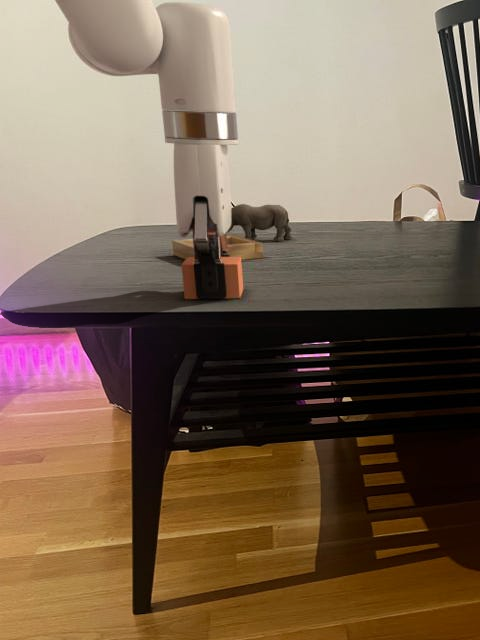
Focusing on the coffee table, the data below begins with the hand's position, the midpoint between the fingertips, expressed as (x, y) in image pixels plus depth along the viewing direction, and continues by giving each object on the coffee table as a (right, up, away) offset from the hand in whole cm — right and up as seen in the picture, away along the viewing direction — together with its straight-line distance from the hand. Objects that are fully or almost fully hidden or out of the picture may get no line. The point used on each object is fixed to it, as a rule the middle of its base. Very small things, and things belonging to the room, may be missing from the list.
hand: (214, 291), depth 82 cm
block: (0, 0, 0) cm, 0 cm away
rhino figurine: (-8, +12, +37) cm, 40 cm away
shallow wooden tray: (-8, +7, +22) cm, 25 cm away
